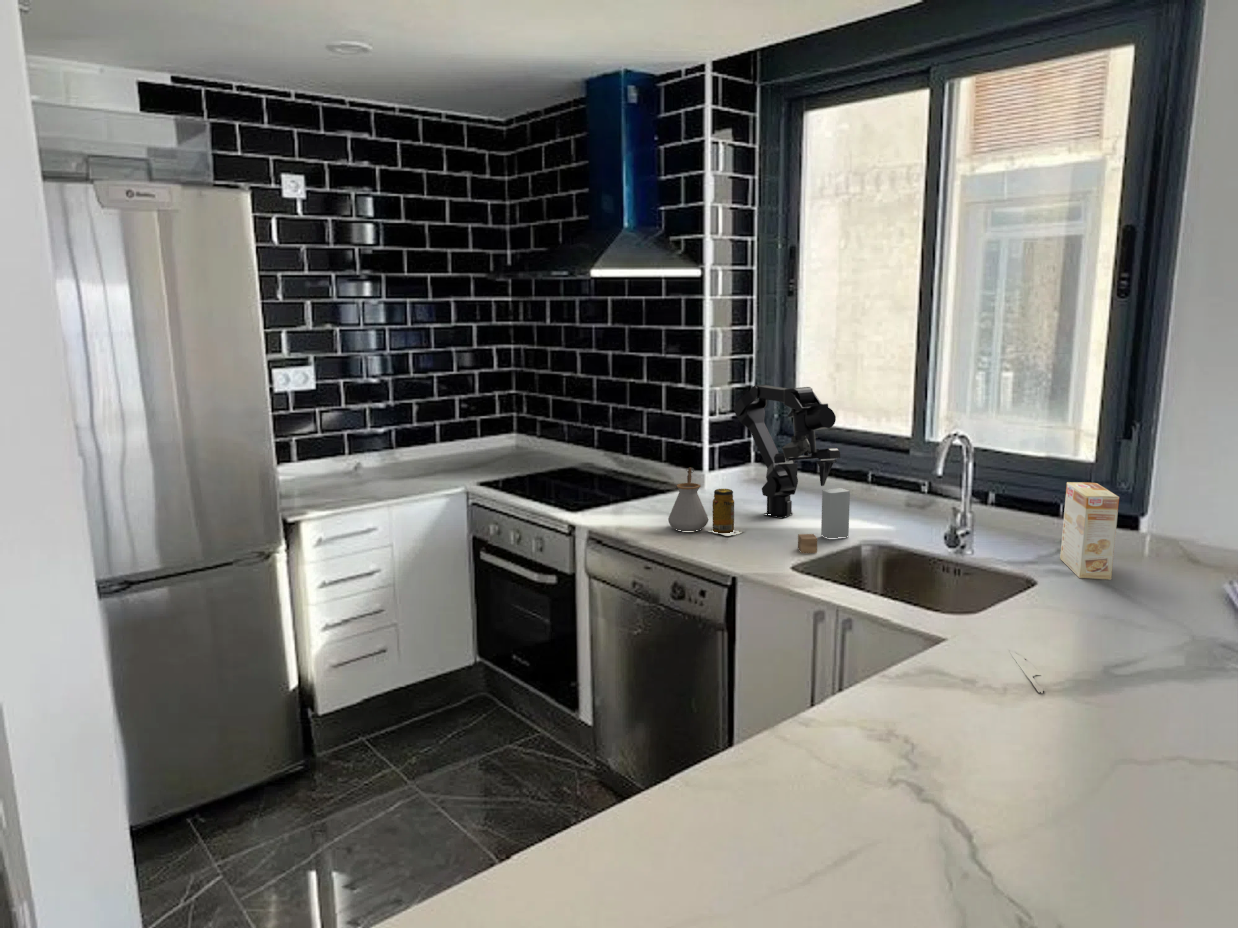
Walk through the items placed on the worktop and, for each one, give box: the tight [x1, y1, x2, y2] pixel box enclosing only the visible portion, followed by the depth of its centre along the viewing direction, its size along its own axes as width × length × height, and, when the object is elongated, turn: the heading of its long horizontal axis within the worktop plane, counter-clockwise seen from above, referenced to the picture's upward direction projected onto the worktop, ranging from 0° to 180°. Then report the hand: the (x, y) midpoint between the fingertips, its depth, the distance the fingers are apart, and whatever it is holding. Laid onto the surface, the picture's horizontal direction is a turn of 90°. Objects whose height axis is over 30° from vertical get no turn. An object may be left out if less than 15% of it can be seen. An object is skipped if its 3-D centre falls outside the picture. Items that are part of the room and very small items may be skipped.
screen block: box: [820, 487, 851, 538], centre depth 229 cm, size 4×6×13 cm, turn 109°
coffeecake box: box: [1059, 481, 1120, 581], centre depth 198 cm, size 15×7×20 cm, turn 168°
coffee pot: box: [667, 466, 710, 531], centre depth 245 cm, size 21×12×15 cm, turn 173°
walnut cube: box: [797, 533, 818, 554], centre depth 219 cm, size 4×4×4 cm
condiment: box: [711, 488, 735, 533], centre depth 236 cm, size 7×8×12 cm
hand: (808, 486), depth 239 cm, fingers open, 9 cm apart
